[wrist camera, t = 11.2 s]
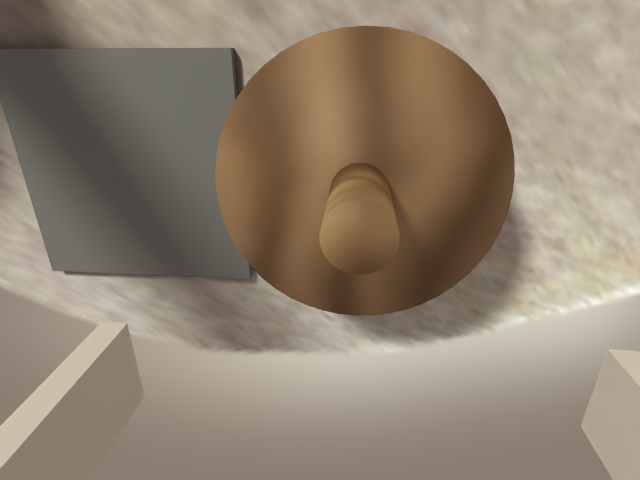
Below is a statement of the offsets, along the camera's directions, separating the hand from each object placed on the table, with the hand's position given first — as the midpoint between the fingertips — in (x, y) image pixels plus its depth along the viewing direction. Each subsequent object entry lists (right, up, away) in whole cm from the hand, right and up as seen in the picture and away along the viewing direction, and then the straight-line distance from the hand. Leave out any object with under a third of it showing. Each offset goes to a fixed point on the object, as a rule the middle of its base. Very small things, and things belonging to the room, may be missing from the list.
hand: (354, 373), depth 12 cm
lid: (+2, +7, +17) cm, 19 cm away
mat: (-19, +10, +29) cm, 36 cm away
